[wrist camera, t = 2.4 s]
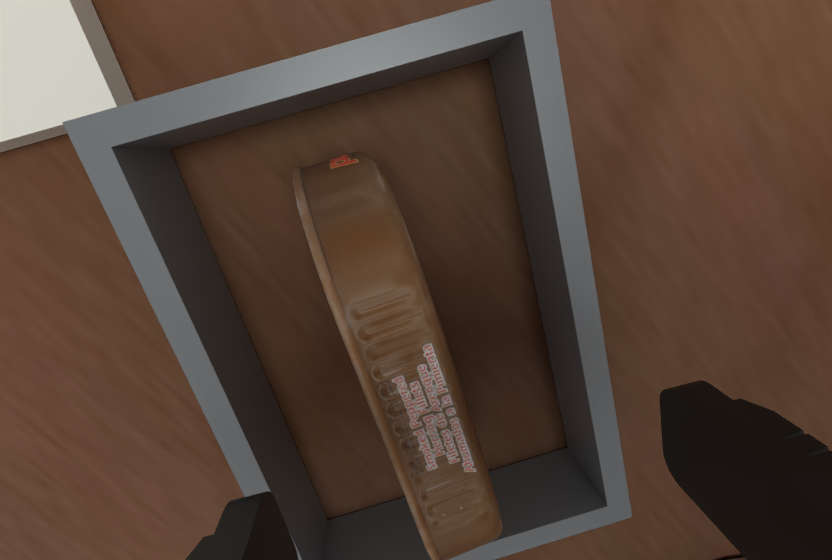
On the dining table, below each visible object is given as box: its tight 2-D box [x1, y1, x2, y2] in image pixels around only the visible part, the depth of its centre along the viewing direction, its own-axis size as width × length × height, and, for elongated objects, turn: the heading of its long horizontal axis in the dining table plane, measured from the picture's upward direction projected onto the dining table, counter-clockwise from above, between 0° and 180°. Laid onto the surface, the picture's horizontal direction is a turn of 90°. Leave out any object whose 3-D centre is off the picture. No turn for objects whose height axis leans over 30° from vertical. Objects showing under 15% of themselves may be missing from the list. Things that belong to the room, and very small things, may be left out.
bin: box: [62, 0, 632, 560], centre depth 18 cm, size 15×21×4 cm
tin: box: [292, 152, 503, 560], centre depth 16 cm, size 15×3×8 cm, turn 17°
